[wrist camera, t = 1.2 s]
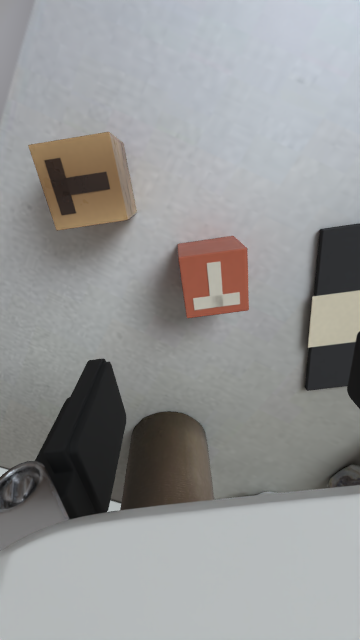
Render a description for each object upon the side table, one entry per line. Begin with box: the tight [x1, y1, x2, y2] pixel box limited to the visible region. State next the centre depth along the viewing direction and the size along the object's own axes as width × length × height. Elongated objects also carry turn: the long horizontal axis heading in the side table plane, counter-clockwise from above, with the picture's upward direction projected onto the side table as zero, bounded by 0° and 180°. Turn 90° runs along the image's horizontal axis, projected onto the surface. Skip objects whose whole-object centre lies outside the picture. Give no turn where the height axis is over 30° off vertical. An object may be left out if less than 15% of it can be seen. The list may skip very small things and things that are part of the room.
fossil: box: [328, 464, 360, 488], centre depth 37 cm, size 6×3×5 cm, turn 150°
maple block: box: [28, 132, 137, 231], centre depth 19 cm, size 5×5×5 cm
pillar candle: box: [121, 412, 214, 510], centre depth 28 cm, size 10×10×15 cm
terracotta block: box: [178, 236, 249, 318], centre depth 23 cm, size 5×5×5 cm
